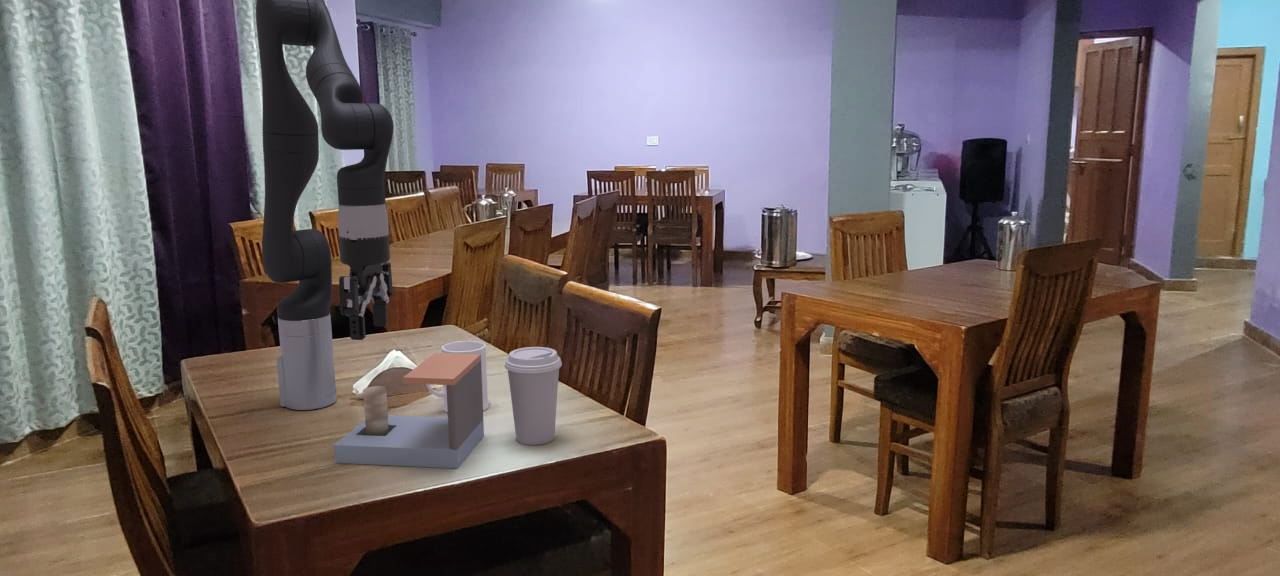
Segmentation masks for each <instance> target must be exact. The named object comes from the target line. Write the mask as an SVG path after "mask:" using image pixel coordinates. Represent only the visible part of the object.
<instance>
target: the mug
mask: <svg viewBox="0 0 1280 576" xmlns="http://www.w3.org/2000/svg"><path fill="white" fill-rule="evenodd" d="M486 346H487V345H486V344H485V343H484V342H483V341H478V340H477V341H476V340H459V341H452V342H448V343H446V344H443V345H442V346H441V353H457V354H481V370H482V395H483V412H484V411H486V410H488V408H489V407H490V402H489V397H488V374H487V348H486ZM425 386H426V388H427V390H429V392H430V393H431V394H432V395H433V396H436V397H438V398H441V399H442V398H443V406H442V409H443V411H444V412H446V413H447V414H448V409H447V388H446V385H442V387H443V391H437V390H435V389H434V388H432V387H431V385H429V384H425Z"/></svg>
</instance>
